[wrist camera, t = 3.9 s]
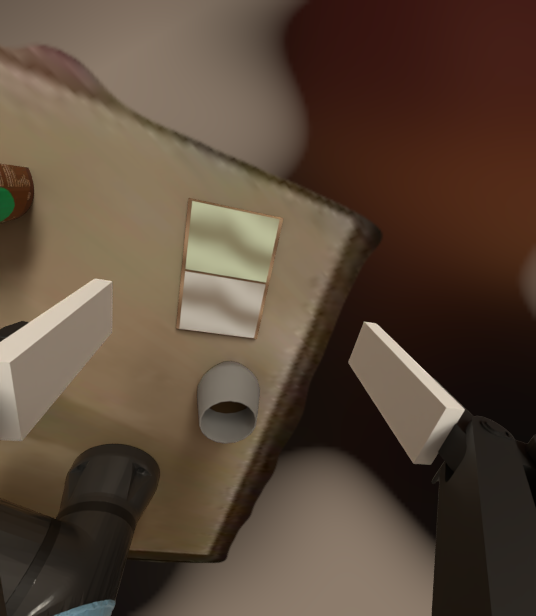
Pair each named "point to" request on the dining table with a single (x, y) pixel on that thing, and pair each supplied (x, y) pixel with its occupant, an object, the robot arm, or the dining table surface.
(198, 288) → the green and white board
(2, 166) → the food container
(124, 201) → the dining table surface
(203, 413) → the cup
